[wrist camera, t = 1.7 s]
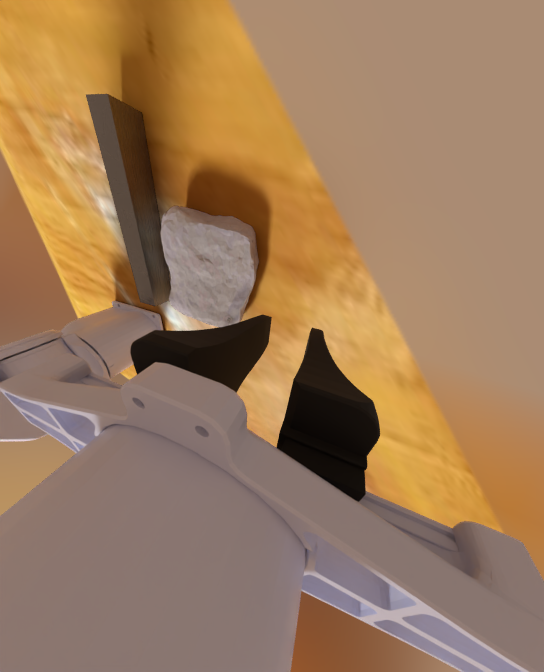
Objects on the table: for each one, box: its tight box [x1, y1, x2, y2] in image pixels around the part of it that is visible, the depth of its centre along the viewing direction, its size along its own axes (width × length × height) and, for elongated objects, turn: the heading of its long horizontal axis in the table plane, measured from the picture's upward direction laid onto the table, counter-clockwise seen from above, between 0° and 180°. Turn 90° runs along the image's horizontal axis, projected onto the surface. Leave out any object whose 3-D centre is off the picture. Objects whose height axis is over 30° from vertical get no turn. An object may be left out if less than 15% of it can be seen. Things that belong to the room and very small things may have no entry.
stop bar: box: [86, 94, 171, 306], centre depth 21 cm, size 2×18×3 cm, turn 175°
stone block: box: [160, 206, 259, 327], centre depth 22 cm, size 12×5×10 cm
